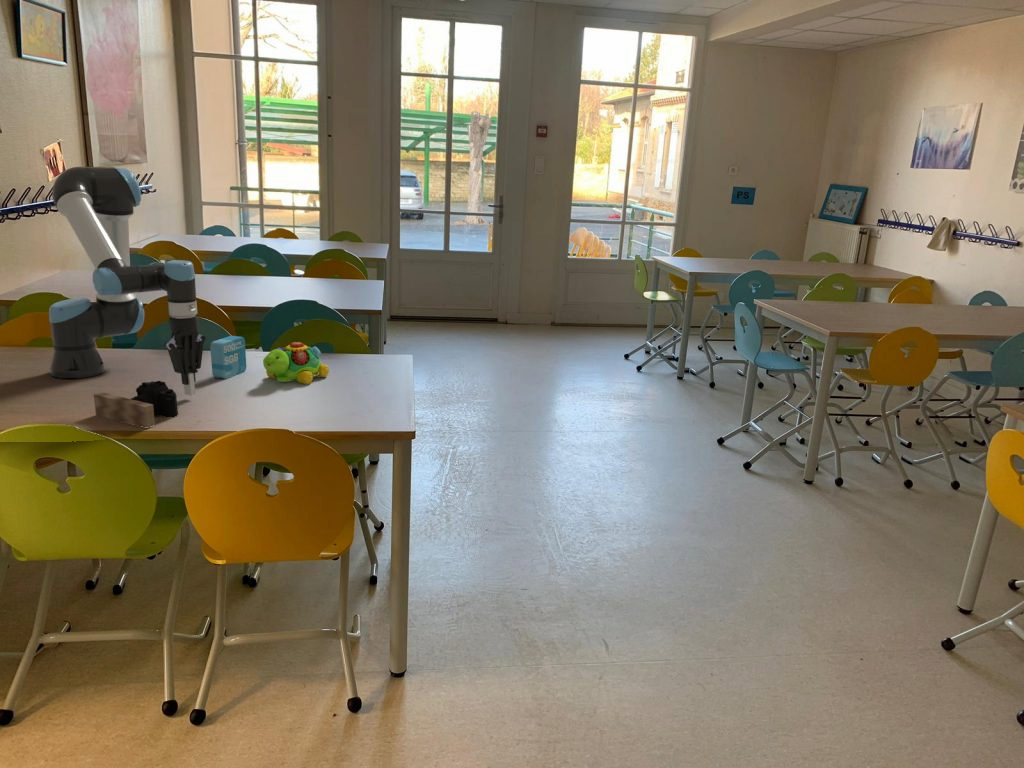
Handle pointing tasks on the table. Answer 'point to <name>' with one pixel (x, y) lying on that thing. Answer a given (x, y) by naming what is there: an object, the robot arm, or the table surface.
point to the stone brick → (124, 409)
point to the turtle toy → (295, 363)
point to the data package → (228, 356)
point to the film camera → (158, 398)
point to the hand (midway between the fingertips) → (189, 394)
